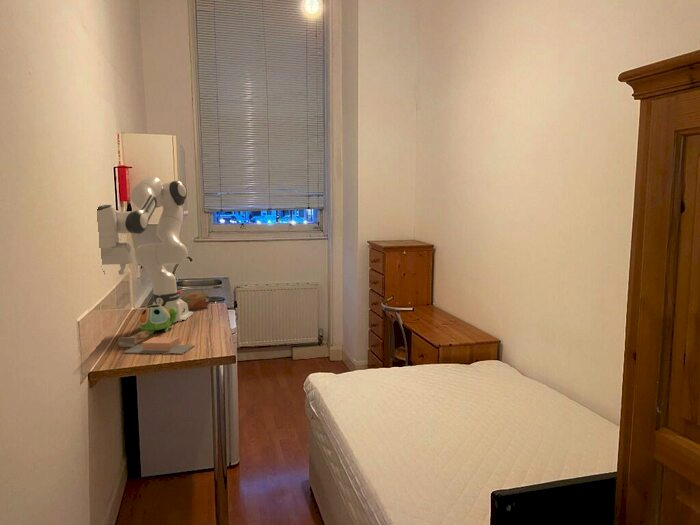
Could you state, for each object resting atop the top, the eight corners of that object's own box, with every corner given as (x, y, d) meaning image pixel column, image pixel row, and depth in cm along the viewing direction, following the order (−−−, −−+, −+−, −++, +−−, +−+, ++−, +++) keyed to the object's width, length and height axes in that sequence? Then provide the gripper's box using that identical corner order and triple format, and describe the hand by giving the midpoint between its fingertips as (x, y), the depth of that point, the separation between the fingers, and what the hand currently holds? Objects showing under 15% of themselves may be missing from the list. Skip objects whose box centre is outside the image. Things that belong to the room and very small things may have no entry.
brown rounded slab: (181, 310, 284) (180, 294, 283) (182, 308, 287) (181, 293, 286) (210, 307, 287) (209, 292, 286) (210, 306, 290) (209, 291, 289)
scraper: (139, 336, 236) (138, 328, 235) (153, 336, 234) (152, 328, 234) (119, 347, 221) (118, 337, 221) (134, 347, 220) (133, 338, 219)
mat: (137, 345, 221) (137, 344, 221) (194, 346, 216) (194, 345, 216) (123, 353, 211) (122, 352, 211) (182, 354, 206) (182, 353, 206)
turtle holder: (185, 327, 247) (182, 303, 245) (147, 336, 235) (144, 310, 233) (173, 323, 256) (171, 299, 254) (136, 332, 244) (133, 307, 242)
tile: (153, 337, 220) (142, 342, 213) (179, 337, 218) (169, 343, 210) (153, 344, 221) (143, 350, 213) (180, 344, 218) (170, 350, 211)
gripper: (134, 241, 228) (137, 272, 230) (92, 242, 232) (96, 273, 234) (125, 243, 222) (129, 275, 224) (82, 244, 226) (86, 276, 228)
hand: (111, 274), depth 229 cm, fingers open, 8 cm apart
